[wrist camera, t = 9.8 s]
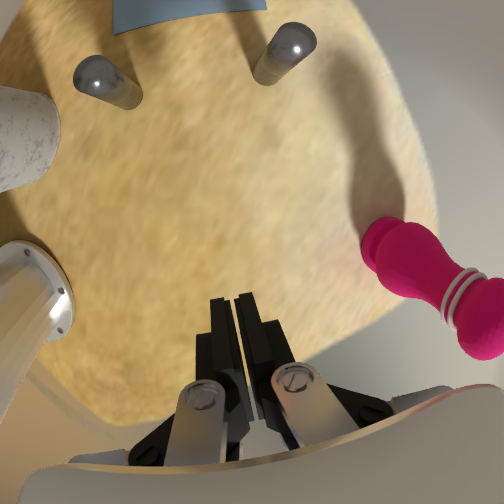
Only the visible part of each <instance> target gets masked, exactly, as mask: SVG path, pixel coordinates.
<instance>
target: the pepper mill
mask: <svg viewBox="0 0 504 504" xmlns="http://www.w3.org/2000/svg"><path fill="white" fill-rule="evenodd" d="M362 257H363V260H364V262H365V264H366V265H367V266H368V267H369V268H370V269H371V270H373V271H374V272H375V273H376V274H377V277H378V279H379V281H380V282H381V284H382V285H383V286H384V287H385V288H386V289H388V290H389V291H391V292H392V293H394V294H397V295H399V296H403V297H408V298H417V299H422V300H424V301H426V302H428V303H430V304H431V305H433V306H434V307H435V308H436V309H437V310H438V311H439V312H440V314H441V320H442V321H443V323H444V324H446V325H448V326H449V328H450V329H451V330H453V331H457V337H458V342H459V344H460V346H461V348H462V349H463V350H464V351H465V353H467V354H468V355H469V356H471V357H473V358H475V359H478V360H483V361H484V360H490V359H493V358H495V357H497V356H499V355H500V354H502V353H503V352H504V279H502V278H491V279H489V280H488V278H487V276H486V275H485V274H484V273H481V272H479V271H478V270H477V269H476V268H467V269H464V268H462V267H460V266H459V265H457V264H456V263H454V261H453V260H452V259H451V258H450V257H449V255H448V254H447V253H446V251H445V249H444V248H443V247H442V245H441V243H440V242H439V240H438V238H437V237H436V236H435V235H434V234H433V233H432V232H431V231H430V230H428V229H427V228H425V227H424V226H422V225H420V224H418V223H414V222H407V223H405V222H403V221H401V220H399V219H397V218H394V217H384V218H381V219H379V220H377V221H376V222H375V223H374V224H372V225H371V227H370V228H369V229H368V230H367V232H366V234H365V236H364V239H363V242H362Z"/></svg>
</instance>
